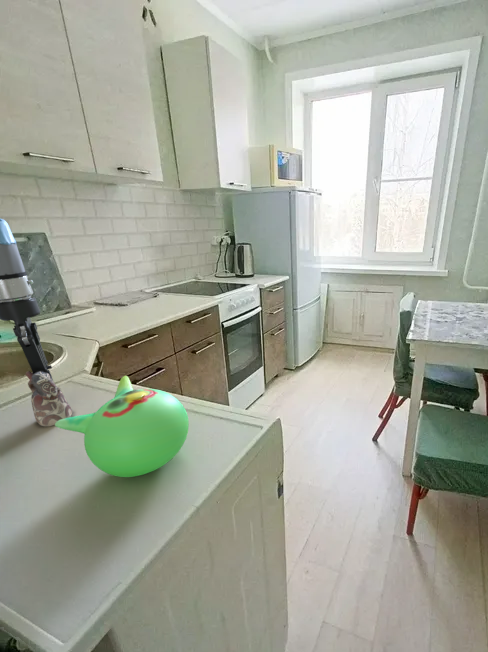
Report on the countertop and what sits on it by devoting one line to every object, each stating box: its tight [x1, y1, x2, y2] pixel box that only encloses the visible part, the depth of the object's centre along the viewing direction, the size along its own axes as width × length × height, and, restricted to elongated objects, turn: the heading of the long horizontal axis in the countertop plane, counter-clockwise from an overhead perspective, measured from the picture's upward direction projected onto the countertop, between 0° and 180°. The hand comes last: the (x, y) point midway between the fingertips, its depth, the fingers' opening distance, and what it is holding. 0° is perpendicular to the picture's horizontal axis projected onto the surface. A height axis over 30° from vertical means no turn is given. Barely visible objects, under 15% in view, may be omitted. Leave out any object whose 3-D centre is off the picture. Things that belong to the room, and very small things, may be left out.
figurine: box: [25, 370, 73, 427], centre depth 80 cm, size 7×7×12 cm
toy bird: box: [54, 375, 190, 478], centre depth 63 cm, size 18×17×15 cm
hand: (51, 396), depth 85 cm, fingers closed
